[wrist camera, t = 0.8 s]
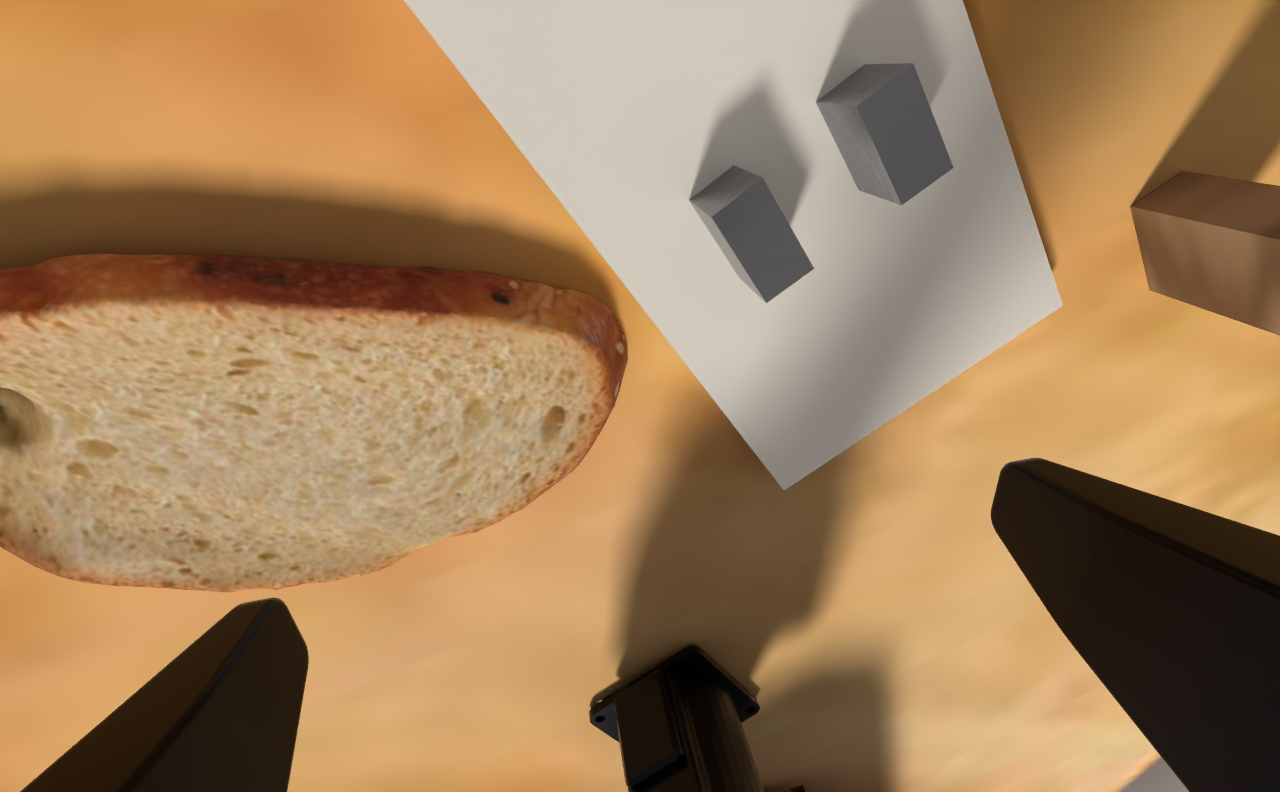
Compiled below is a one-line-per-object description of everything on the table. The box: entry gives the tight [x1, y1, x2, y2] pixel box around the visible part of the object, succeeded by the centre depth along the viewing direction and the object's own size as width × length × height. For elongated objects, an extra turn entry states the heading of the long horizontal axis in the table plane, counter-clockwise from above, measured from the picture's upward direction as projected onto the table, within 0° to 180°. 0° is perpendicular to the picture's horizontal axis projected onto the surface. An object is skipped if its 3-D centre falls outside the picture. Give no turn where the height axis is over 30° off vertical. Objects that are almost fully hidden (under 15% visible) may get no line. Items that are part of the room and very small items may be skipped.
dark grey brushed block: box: [689, 63, 954, 303], centre depth 17 cm, size 3×6×2 cm, turn 126°
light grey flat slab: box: [404, 0, 1063, 490], centre depth 18 cm, size 20×12×1 cm, turn 36°
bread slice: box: [0, 254, 628, 592], centre depth 18 cm, size 18×18×4 cm
